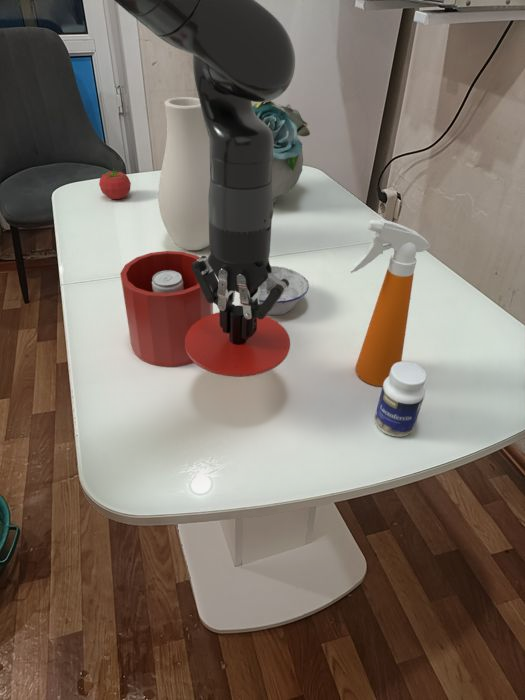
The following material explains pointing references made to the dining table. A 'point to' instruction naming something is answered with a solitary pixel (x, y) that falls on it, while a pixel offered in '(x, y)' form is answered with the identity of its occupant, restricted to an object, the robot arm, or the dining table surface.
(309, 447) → the dining table surface
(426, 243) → the spray bottle
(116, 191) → the tomato
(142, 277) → the pot
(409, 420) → the pill bottle
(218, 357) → the lid
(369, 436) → the dining table surface
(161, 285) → the beverage can
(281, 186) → the flower arrangement
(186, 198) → the vase
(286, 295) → the bowl
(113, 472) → the dining table surface
